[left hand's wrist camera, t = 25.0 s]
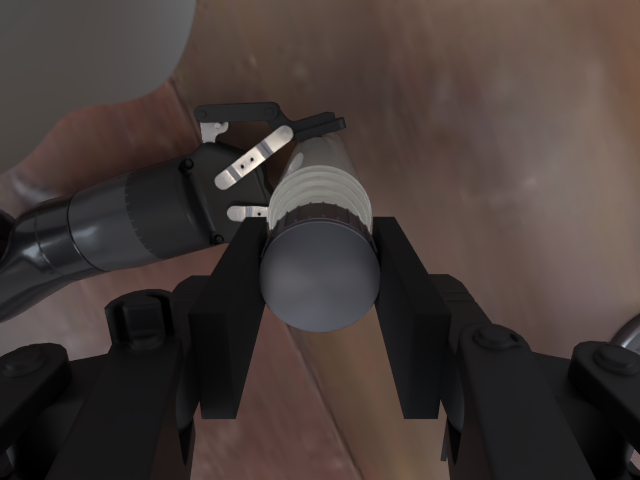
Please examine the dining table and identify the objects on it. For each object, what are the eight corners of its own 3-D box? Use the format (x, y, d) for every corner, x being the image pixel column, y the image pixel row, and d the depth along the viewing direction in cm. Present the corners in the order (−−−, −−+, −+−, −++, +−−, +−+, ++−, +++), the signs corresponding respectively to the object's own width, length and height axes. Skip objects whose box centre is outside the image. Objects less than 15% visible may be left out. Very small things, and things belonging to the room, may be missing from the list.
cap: (299, 317, 15) (296, 352, 13) (244, 232, 14) (231, 257, 12) (392, 272, 15) (403, 302, 12) (342, 180, 13) (346, 196, 11)
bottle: (291, 177, 38) (243, 323, 14) (296, 125, 36) (250, 189, 12) (342, 183, 38) (379, 337, 14) (349, 131, 36) (405, 206, 12)
